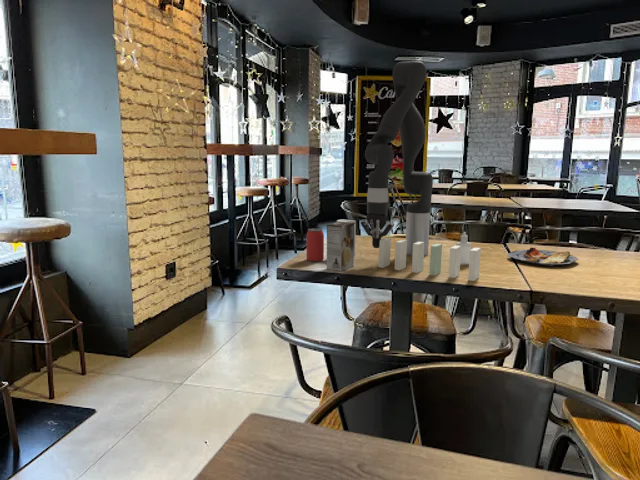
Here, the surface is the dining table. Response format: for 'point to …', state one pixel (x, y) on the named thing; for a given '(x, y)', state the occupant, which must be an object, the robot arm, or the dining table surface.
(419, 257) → the domino
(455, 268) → the domino
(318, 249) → the beer can
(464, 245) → the eye dropper bottle
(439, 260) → the sage domino
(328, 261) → the coffee box
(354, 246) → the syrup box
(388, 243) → the domino
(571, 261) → the food plate
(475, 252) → the domino
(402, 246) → the domino
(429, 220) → the robot arm
